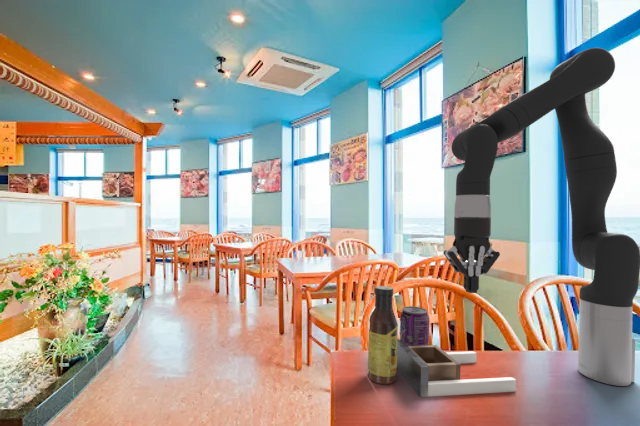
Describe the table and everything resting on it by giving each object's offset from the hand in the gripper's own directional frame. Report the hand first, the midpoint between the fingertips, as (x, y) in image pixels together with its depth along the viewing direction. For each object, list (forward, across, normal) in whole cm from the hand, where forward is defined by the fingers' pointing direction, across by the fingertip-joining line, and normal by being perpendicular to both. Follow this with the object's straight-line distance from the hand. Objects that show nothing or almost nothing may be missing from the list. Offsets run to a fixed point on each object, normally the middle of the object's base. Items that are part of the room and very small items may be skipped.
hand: (470, 292), depth 73 cm
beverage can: (+19, +8, -11) cm, 24 cm away
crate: (+19, +9, 0) cm, 21 cm away
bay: (+19, +5, 0) cm, 19 cm away
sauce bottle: (+19, +20, -1) cm, 28 cm away
